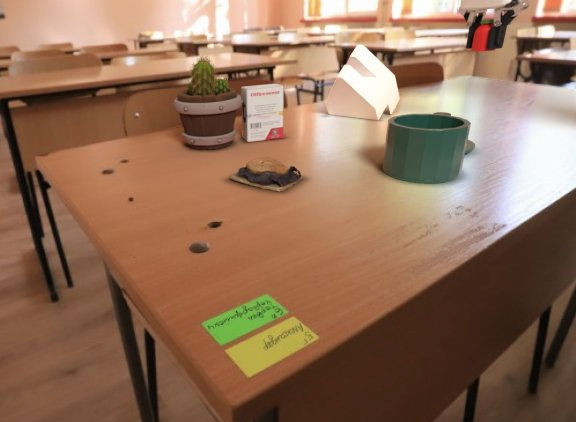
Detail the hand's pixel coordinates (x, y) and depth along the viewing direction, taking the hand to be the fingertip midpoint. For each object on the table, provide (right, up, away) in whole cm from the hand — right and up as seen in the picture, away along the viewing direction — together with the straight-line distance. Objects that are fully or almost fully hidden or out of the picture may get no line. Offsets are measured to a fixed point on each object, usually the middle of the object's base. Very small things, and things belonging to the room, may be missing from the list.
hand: (483, 47), depth 82 cm
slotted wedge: (-15, -7, +28) cm, 33 cm away
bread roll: (-45, -27, -10) cm, 53 cm away
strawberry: (0, -1, 0) cm, 0 cm away
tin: (-19, -26, -12) cm, 34 cm away
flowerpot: (-54, -17, +13) cm, 58 cm away
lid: (-10, -19, -1) cm, 22 cm away
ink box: (-41, -15, +15) cm, 47 cm away
